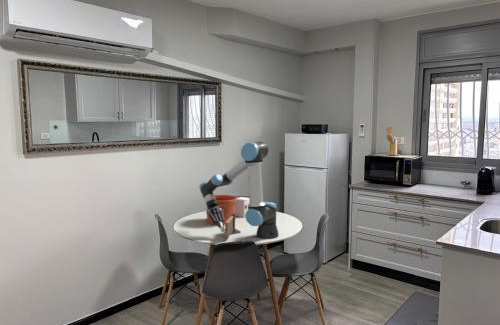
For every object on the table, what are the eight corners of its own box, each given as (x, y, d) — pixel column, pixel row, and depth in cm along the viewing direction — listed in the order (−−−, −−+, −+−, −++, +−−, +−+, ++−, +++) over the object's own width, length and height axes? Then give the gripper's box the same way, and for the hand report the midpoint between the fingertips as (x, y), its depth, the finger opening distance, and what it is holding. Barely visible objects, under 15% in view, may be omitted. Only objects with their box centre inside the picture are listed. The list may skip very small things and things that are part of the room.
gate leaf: (230, 230, 256) (230, 216, 254) (233, 231, 255) (233, 216, 254) (225, 238, 237) (225, 223, 236) (227, 239, 237) (227, 223, 236)
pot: (212, 216, 302) (212, 193, 300) (240, 218, 295) (241, 195, 293) (199, 224, 278) (199, 199, 276) (230, 227, 271) (230, 201, 269)
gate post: (234, 230, 263) (234, 211, 262) (240, 232, 256) (240, 213, 255) (224, 231, 258) (224, 213, 257) (230, 234, 252) (230, 215, 251)
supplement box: (244, 217, 299) (244, 199, 298) (234, 216, 304) (235, 198, 302) (249, 215, 307) (250, 197, 305) (240, 214, 311) (241, 196, 310)
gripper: (217, 203, 260) (229, 232, 248) (200, 206, 252) (212, 235, 241) (221, 197, 255) (233, 226, 243) (204, 199, 248) (216, 229, 236)
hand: (223, 231), depth 242 cm, fingers closed
